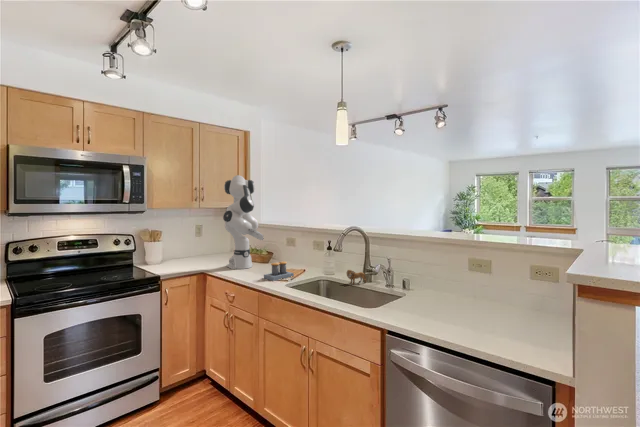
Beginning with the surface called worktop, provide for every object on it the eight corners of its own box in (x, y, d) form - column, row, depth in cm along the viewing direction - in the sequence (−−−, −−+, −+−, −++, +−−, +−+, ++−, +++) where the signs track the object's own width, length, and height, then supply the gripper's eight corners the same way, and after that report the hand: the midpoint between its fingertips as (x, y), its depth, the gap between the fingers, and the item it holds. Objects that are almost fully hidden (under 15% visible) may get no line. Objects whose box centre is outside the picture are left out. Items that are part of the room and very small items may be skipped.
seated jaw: (277, 276, 227) (276, 262, 226) (283, 275, 231) (283, 261, 230) (282, 277, 223) (282, 263, 222) (288, 276, 227) (288, 262, 226)
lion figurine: (348, 285, 202) (348, 270, 202) (344, 283, 207) (344, 269, 207) (369, 282, 208) (369, 268, 208) (364, 280, 213) (364, 267, 212)
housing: (263, 278, 222) (263, 274, 222) (283, 274, 234) (283, 270, 234) (273, 280, 214) (273, 277, 214) (293, 276, 226) (293, 273, 226)
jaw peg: (269, 278, 222) (269, 263, 222) (276, 276, 226) (276, 262, 226) (274, 279, 218) (274, 264, 218) (281, 278, 222) (281, 263, 222)
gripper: (257, 227, 203) (270, 237, 213) (238, 219, 216) (252, 228, 226) (251, 236, 201) (265, 245, 211) (233, 227, 215) (247, 236, 225)
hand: (258, 237), depth 219 cm, fingers open, 8 cm apart
